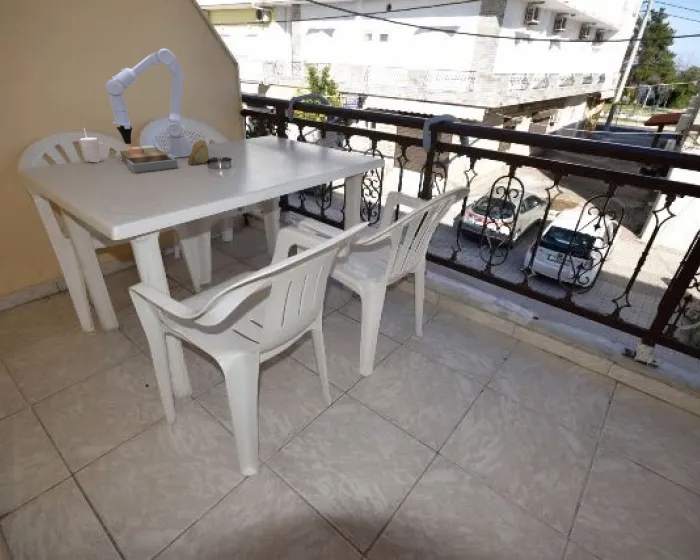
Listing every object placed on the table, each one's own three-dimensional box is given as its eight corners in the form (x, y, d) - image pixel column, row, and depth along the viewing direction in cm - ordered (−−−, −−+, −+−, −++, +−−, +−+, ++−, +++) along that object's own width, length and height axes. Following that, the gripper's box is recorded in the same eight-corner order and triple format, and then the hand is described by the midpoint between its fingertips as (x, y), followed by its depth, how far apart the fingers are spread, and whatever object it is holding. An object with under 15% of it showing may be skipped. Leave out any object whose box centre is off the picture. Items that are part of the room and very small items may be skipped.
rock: (187, 161, 162) (211, 157, 166) (181, 143, 163) (204, 138, 166) (190, 171, 173) (212, 167, 176) (184, 154, 173) (206, 150, 176)
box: (170, 163, 168) (169, 155, 166) (178, 168, 161) (176, 159, 159) (128, 168, 158) (126, 159, 156) (134, 173, 152) (132, 164, 150)
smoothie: (85, 161, 166) (74, 127, 159) (102, 159, 170) (92, 126, 163) (88, 164, 162) (78, 129, 155) (105, 162, 166) (95, 128, 159)
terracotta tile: (139, 151, 169) (138, 146, 168) (142, 153, 166) (141, 148, 165) (126, 152, 166) (125, 147, 165) (129, 154, 163) (128, 149, 162)
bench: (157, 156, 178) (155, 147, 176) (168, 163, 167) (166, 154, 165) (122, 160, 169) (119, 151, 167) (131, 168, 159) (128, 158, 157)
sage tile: (153, 149, 172) (152, 145, 171) (156, 151, 169) (155, 147, 168) (141, 150, 169) (140, 146, 168) (144, 152, 166) (143, 148, 165)
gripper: (106, 109, 166) (114, 141, 173) (113, 113, 156) (122, 147, 163) (123, 108, 170) (131, 140, 177) (132, 112, 160) (139, 145, 167)
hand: (128, 143), depth 170 cm, fingers closed
